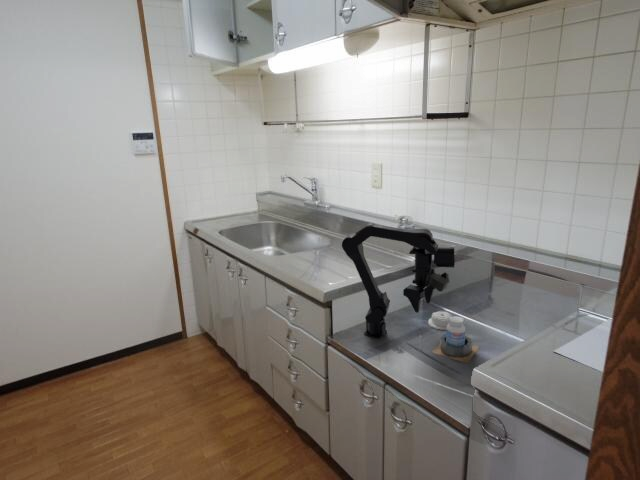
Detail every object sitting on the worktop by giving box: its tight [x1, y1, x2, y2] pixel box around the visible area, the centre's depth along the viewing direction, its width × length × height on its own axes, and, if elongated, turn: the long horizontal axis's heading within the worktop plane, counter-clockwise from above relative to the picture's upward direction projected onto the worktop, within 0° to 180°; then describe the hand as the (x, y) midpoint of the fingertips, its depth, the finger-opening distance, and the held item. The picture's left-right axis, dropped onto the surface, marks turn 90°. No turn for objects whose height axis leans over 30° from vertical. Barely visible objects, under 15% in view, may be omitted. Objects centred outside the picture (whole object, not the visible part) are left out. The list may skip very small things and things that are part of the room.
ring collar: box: [439, 334, 473, 358], centre depth 135 cm, size 10×10×4 cm
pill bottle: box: [445, 315, 466, 346], centre depth 134 cm, size 6×6×11 cm
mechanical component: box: [428, 311, 453, 331], centre depth 154 cm, size 10×4×10 cm
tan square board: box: [431, 343, 480, 364], centre depth 136 cm, size 12×12×1 cm
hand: (422, 307), depth 142 cm, fingers open, 9 cm apart
